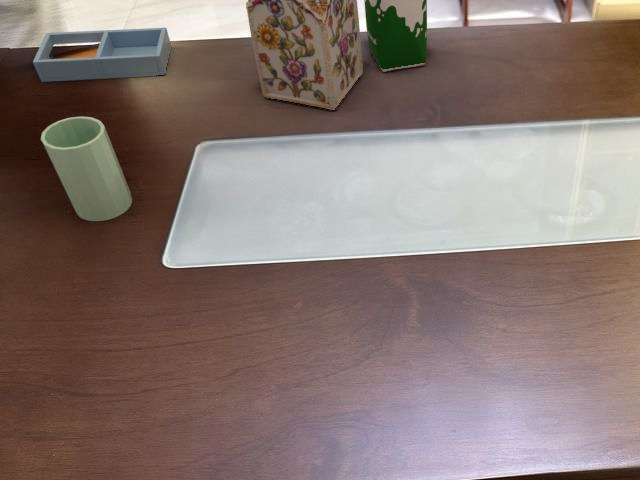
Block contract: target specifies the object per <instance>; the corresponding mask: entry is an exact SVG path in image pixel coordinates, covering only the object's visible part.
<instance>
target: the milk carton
mask: <svg viewBox="0 0 640 480" xmlns="http://www.w3.org/2000/svg"><path fill="white" fill-rule="evenodd" d="M363 1H364V13H365V24H366V25H365V27H366V34H367V41H368V47H369V52H370V51H371V52H372V54H373V56H374V57H375V59H376V60H377V62H378V64H379V65H380V67H381V68H382V69H389V68H395V67H401V66H408V65H414V64H420V63H425V62H426V63H427V47H428V4H427V3H428V0H363ZM372 54H371V55H372ZM373 56H372V57H373ZM375 59H374V60H375ZM377 62H376V63H377ZM378 64H377V65H378ZM379 65H378V66H379ZM380 67H379V68H380Z"/></svg>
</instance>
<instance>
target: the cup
mask: <svg viewBox="0 0 640 480" xmlns="http://www.w3.org/2000/svg"><path fill="white" fill-rule="evenodd" d="M110 139H111V138H110V137H109V134H108V132H107V129H106V127H105V125H104V124H103V122H102V121H101V120H100V119H97V118H94V117H91V116H83V115H82V116H81V115H80V116H73V117H72V116H71V117H67V118H63V119H61V120H57V121H55V122H53V123H51V124H50V125H48V126H47V127H46V128H45V129H44V130H43V131H42V132H41V136H40V141H41V143H42V145H43V148H44V150H45V151H46V154H47V156H48V158H49V160H50V162H51V164H52V166H53V169H54V171H55V172H56V175H57V177H58V179H59V181H60V183H61V185H62V187H63V190H64V192H65V193H66V196H67V198H68V200H69V202H70V204H71V206H72V208H73V210H74V211H75V214H76V215H77V216H78V217H79V218H80V219H83V220H84V221H88V222H103V221H104V222H105V221H109V220H112V219H116V218H118V217H119V216H121V215H123V214H124V213H126V212H127V211H128V210H129V209H130V207H131V206H132V205H133V204H132V203H133V197H132V192H131V190H130V188H129V185H128V182H127V180H126V177H125V175H124V172H123V169H122V167H121V164H120V162H119V159H118V157H117V155H116V151H115V149H114V147H113V144H112V141H111V140H110Z"/></svg>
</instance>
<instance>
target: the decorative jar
mask: <svg viewBox="0 0 640 480" xmlns="http://www.w3.org/2000/svg"><path fill="white" fill-rule="evenodd" d="M245 8H246V14H247V20H248V25H249V26H248V27H249V32H250V37H251V42H252V49H253V54H254V59H255V63H256V69H257V73H258V78H259V83H260V87H261V92H262V96H263V97H264V98H265V97H266V99H269V98H270V99H269V100H274V99H277V100H276V101H280V100H283V101H282V102H284V101H291V102H296V103H301V104H308V105H314V106H319V107H324V108H330V109H335V108H336V107H337V106H338V105H339V106H340V104H341V103H342V102H341V100H342V99H343V98H344V97H345V95H346V94H347V93H348V91H349V90H350V89H351V88H352V86H353V85H354V84H355V82H356V81H357V80H358V78H359V77H360V76H361V75H362V76H363V74H362V73H364V64H363V50H362V41H361V40H362V39H361V29H360V18H359V7H358V0H247V2H245ZM362 76H361V77H362ZM361 77H360V78H361ZM358 81H359V80H358ZM358 81H357V82H358ZM357 82H356V83H357ZM355 85H356V84H355ZM355 85H354V86H355ZM354 86H353V87H354ZM352 89H353V88H352ZM352 89H351V90H352ZM348 94H349V93H348ZM348 94H347V95H348ZM345 98H346V97H345ZM345 98H344V99H345ZM340 102H341V103H340ZM339 103H340V104H339ZM339 106H338V107H339ZM338 107H337V108H338ZM337 108H336V109H337Z"/></svg>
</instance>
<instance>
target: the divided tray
mask: <svg viewBox="0 0 640 480" xmlns="http://www.w3.org/2000/svg"><path fill="white" fill-rule="evenodd" d="M89 43H95V44H91V45H88V46H83V47H80V48H76V49H73V50H68V51H64V52H60V53H57V54H53V55H50V54H51V52H52V50H53V47H54V46H55V45H68V44H69V45H70V44H71V45H72V44H89ZM172 47H173V45H172V42H171V39H170V36H169V33H168V29H167V27H149V28H127V29H125V28H123V29H104V30H103V29H102V30H81V31H80V30H79V31H60V32H59V31H58V32H57V31H56V32H46V33H45V35H44V37H43V39H42V42H41V44H40V46H39V48H38V49H37V52H36V54H35V57H34V59H33V61H32V64H33V66H34V68H35V70H36V73H37V75H38V77H39V79H40V80H39V81H41V83H49V82H50V83H52V82H67V81H68V82H70V81H87V80H88V81H89V80H106V79H108V80H109V79H123V78H124V79H125V78H126V79H127V78H143V77H145V78H146V77H159V76H158V75H164V74H165V73H166V74H167V71H166V67H167V68H168V66H167V63H168V64H169V61H168V58H169V59H170V57H169V53H170V54H171V52H170V50H171V51H172ZM156 75H157V76H156Z"/></svg>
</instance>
